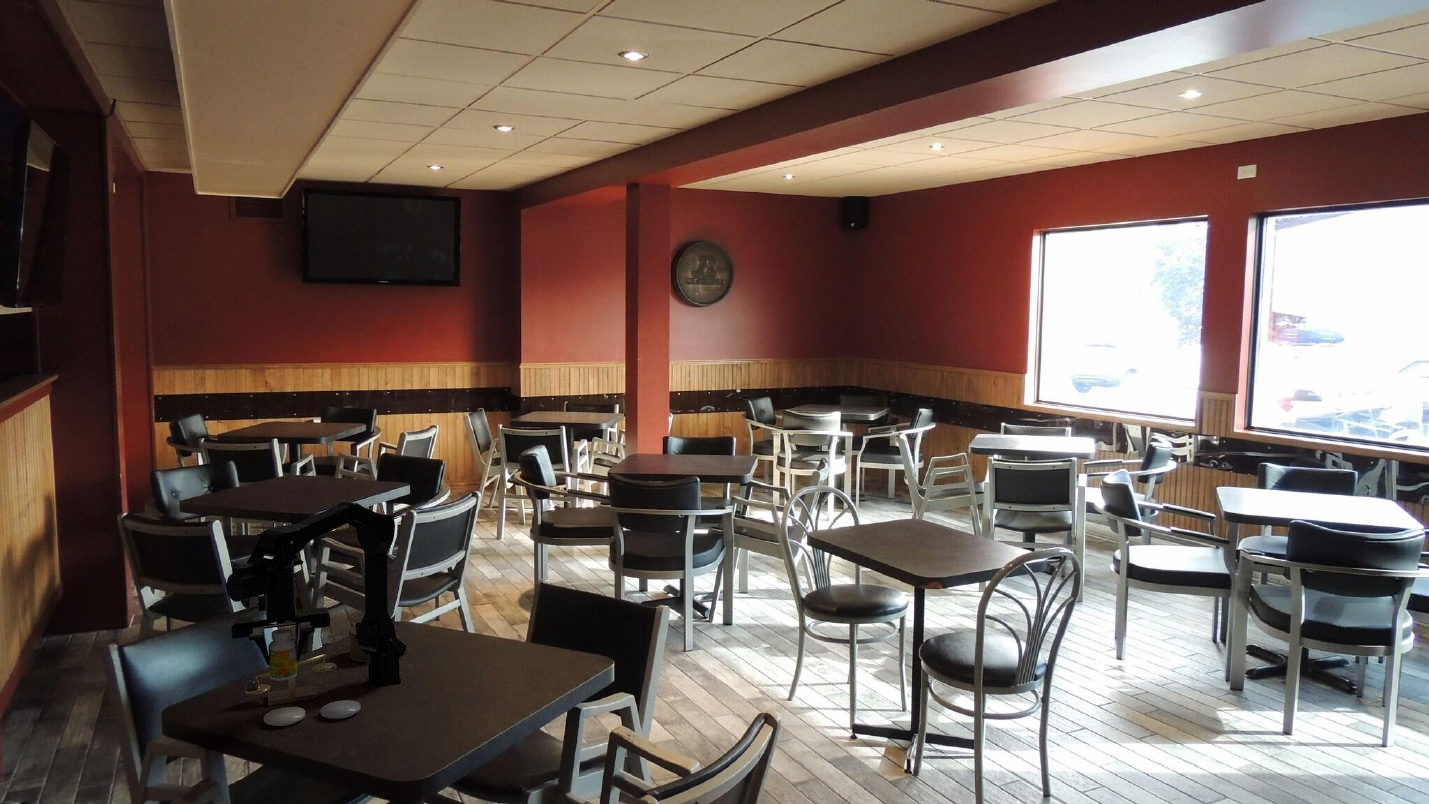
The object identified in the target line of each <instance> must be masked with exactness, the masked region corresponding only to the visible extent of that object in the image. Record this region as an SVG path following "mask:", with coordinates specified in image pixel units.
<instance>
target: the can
mask: <svg viewBox="0 0 1429 804" xmlns="http://www.w3.org/2000/svg"><path fill="white" fill-rule="evenodd" d="M393 623H394V625H395V632H396V638H397V639H399V640H400V636H399V635H400V624H399V623H397V622H396V621H393ZM355 625H356V624H355ZM355 625H352V626H351V627H349V629H348V634H349V651H350V652H349V653H350V655H349V656H350V659H351V660H352V661H355V662H359V663H367V662H368V661H370V655H367V654H364V652H363V650H362V648H361V647H360V646H359V645H358V641H357V640H356V639H355V637H356V627H355Z"/></svg>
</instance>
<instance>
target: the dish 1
mask: <svg viewBox="0 0 1429 804" xmlns="http://www.w3.org/2000/svg"><path fill="white" fill-rule="evenodd" d="M305 717H306V710H305V709H304V708H302V707H298V706H287V707H280V708H277V709H276V708H275V709H273V710H271V711H268V712H267V713H266V714H264V716H263V722H264V723H265V724H266V725H269V726H273V727H285V726H290V725H293V724H296V723H297V722H300V721H302V720H303V719H304V718H305Z"/></svg>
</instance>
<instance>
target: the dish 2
mask: <svg viewBox="0 0 1429 804" xmlns="http://www.w3.org/2000/svg"><path fill="white" fill-rule="evenodd" d="M360 711H361V703H360V702H359V701H356V700H349V699H348V700H346V699H345V700H337V701H332V702H330V703H329V702H328V704H327V703H326V704H325V705H324V706H321V708H320V716H322V717H323V718H327V719H329V720H343V719H347V718H350V717H352V716H354V715H356V714H357V713H359V712H360Z"/></svg>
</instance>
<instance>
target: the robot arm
mask: <svg viewBox="0 0 1429 804" xmlns="http://www.w3.org/2000/svg"><path fill="white" fill-rule="evenodd" d="M345 525H348V526H351V527H352V528H354V529H355V532H356V538H357V541H358V543H359V545H360V547H361V548H362V550H363V554H364V603H365V604H364V610H365V611H364V615H363V617H362V619H361V620H360V621H356V622H355V627H356V637H355V639H356V640H357V641H358V645H359V646H360V647H361V648H362V650H363V652H364V654H367V655H370V661H368V662H366V666H367V667H366V668H367V669H366V670H367V672H366V673H367V676H366V677H367V681H368V683H370V684H371V687H378V686H379V687H380V686H387V685H392V684H398V683H399V684H400V683H401V682H402V679H401V675H400V658H401V657H402V656H404V655H406V654H405V653H406V651H407V650H406V649H407V645H406V644H405V643H403V642H402V641H401V640H400V638H399V639H397V638H396V632H395V625H394V623H393V622H394V621H393V620H392V617H391V615H390V614H389V611H388V610H389V607H388V606H389V604H388V603H389V602H388V601H389V597H388V551H389V548H390V547H391V545H392V544H393V542H394V537H395V530H396V522H395V519H394V518H393V517H392V516H391V515H388V514H383V513H378V512H376V511H373V510H371V509H369V508H366V507H365V506H363V505H361V504H360V503H358V502H352V501H346V500H344V501H341V502H339V503H338V504H337V505H335V506H332V507H330V508H328V509H326V510H324V511H321V512H319V513H316V514H315V515H313V516H310V517H308V518H305V519H303V520H301V521H300V522H297V523H294V524H287V525H279V526H274V527H270V528H267V529H264V530H263V531H262V532H261V533H260V536H259V538H258V540H257V541H258V542H257V544H256V545H255V546H254V549H253V551H252V552H251V555H250V556H249V558H248V559H247V561H246V565H242V566H240V565H239V566H233V567H232V568H231V574H229V576H228V577H227V581H226V583H225V590H226V593H227V595H228V597H229V599H230V600H231V601H233V602H234V603H239V602H242V601H245V600H249V599H254V598H256V597H257V611H258V612H265V619H257V620H253V616H252V615H249V616H241V617H240V616H239V617H234V618H233V619H232V621H231V638H232V639H241V638H248V641H254V643H255V644H256V646H258V649H259V651H260V652H261V654H262V656H263V657H262V658H263V659H264V660H265V663H266V665H267V666H269V650H268V647H267V646H268V644H267V641H266V635H265V630H266V629H274V628H285V627H289V626H291V627H292V626H298V627H297V628H298V631H297V633H298V634H297V641H296V649H297V662H300V659H301V656H302V652H303V650H304V647H305V644H306V642H307V640H308V639H309V636H310V634H312V633H315V632H316V629H320V628H329V627H330V626H331V614H330V611H329V609H328V608H327V607H316V608H309V609H308V614H299V615H297V607H296V584H295V567H297V566H301V565H303V564H304V561H303V560H302V559H300V558H299V557H298V556H297V554H298V553H300V552H301V551H303V550H304V549H305V547H306V545H307V544H308V543H310V542H311V541H313V540H315V539H317V538H319V537H321V536H323V535H325V534H328V533H329V532H330V533H331V532H332V531H334V530H336V529H338V528H340V527H342V526H345ZM268 557H270V558H268Z"/></svg>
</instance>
